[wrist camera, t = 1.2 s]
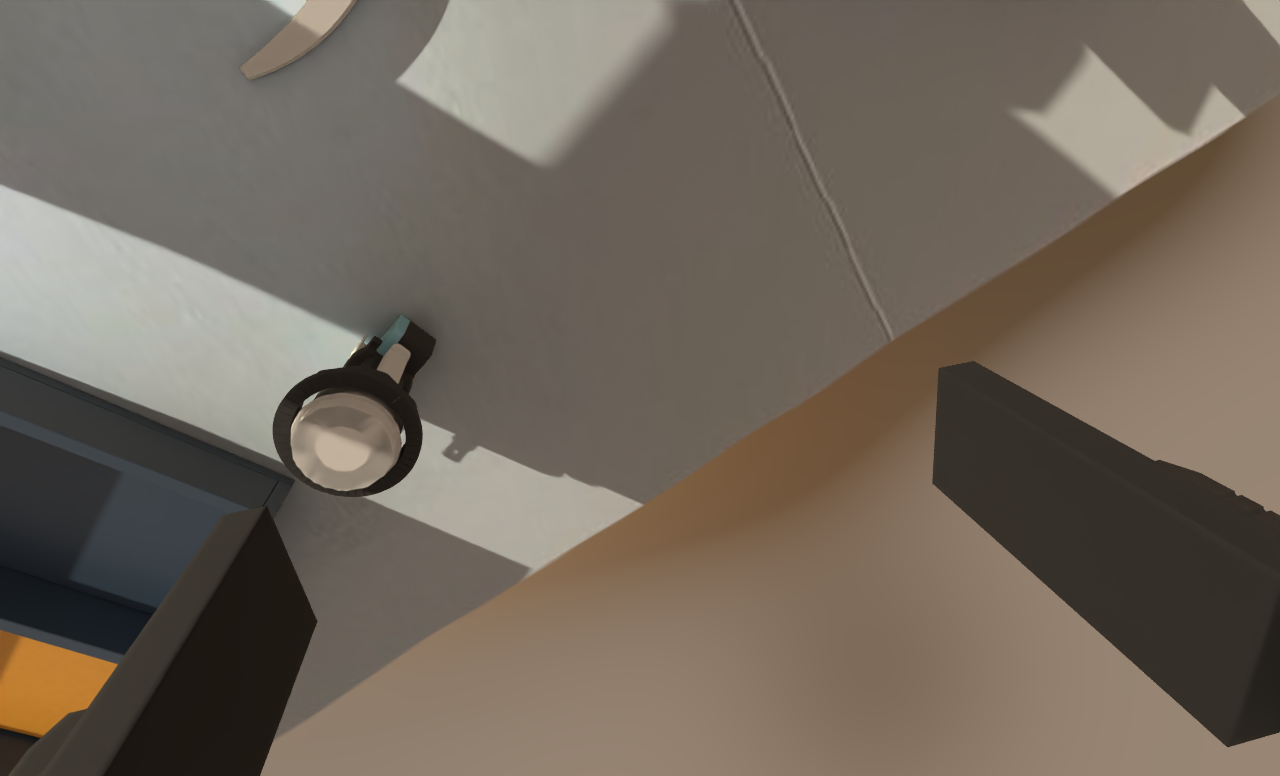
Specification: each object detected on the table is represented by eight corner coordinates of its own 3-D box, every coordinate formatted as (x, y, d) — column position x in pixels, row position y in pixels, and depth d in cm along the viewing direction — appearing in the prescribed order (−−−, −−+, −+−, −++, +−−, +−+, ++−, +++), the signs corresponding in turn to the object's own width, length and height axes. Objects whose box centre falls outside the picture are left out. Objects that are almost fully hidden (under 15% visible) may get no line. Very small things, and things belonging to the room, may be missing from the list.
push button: (384, 441, 35) (341, 557, 26) (293, 382, 33) (212, 485, 24) (464, 351, 34) (447, 438, 25) (374, 283, 32) (321, 353, 23)
